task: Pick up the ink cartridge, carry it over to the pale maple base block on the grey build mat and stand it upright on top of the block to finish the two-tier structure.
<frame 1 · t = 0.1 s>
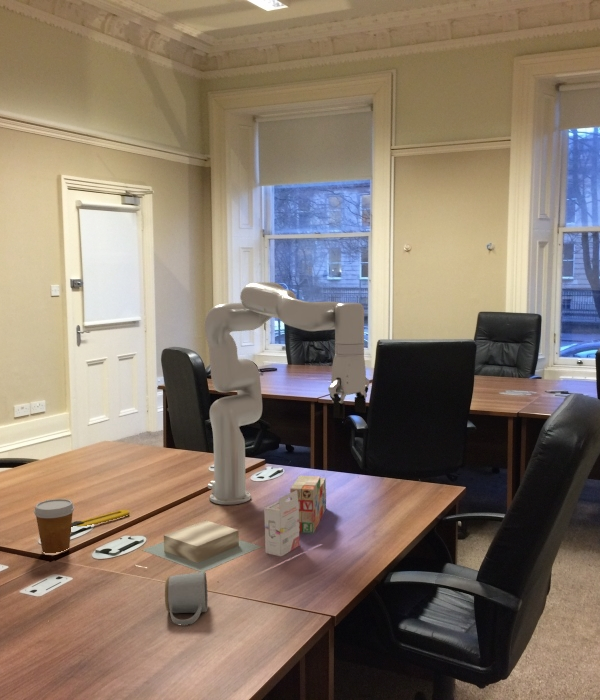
hand: (349, 415, 186), 31 cm above the table, tool pointing down, fingers open, 9 cm apart
stack of blocks: (309, 520, 197), on the table
base block: (201, 548, 176), resting on build mat
ceramic mug: (188, 614, 142), on the table
disposable coffee cup: (56, 551, 176), on the table
build mat: (201, 549, 176), on the table
ink cartridge box: (282, 551, 175), on the table
utility knife: (92, 524, 197), on the table
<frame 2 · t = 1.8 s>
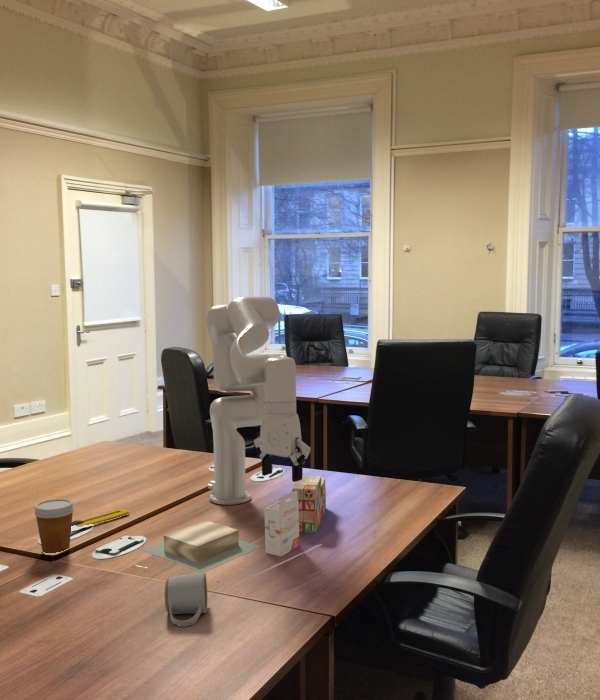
hand: (282, 477, 173), 19 cm above the table, tool pointing down, fingers open, 9 cm apart
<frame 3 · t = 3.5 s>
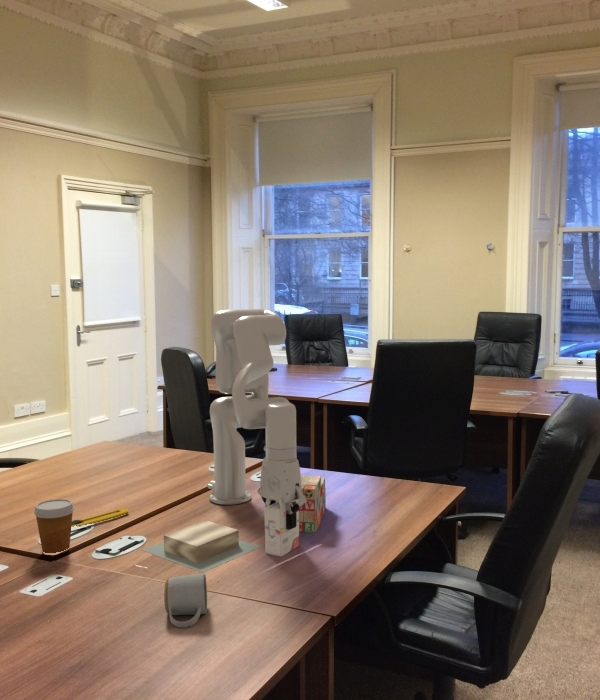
hand: (281, 524, 174), 7 cm above the table, tool pointing down, fingers closed on ink cartridge box, 5 cm apart
ink cartridge box: (282, 551, 175), on the table, touching gripper
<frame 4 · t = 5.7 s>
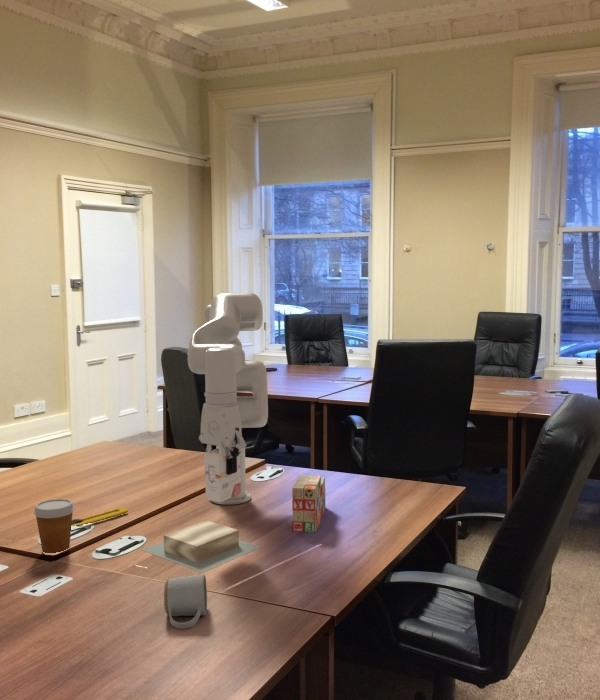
hand: (222, 470, 174), 20 cm above the table, tool pointing down, fingers closed on ink cartridge box, 5 cm apart
ink cartridge box: (223, 497, 174), point 13 cm above the table, touching gripper
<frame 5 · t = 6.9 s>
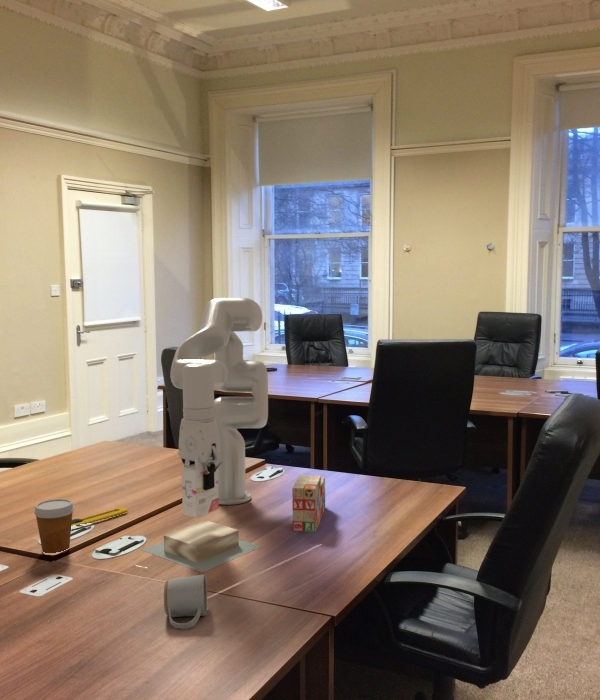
hand: (200, 486, 174), 16 cm above the table, tool pointing down, fingers closed on ink cartridge box, 5 cm apart
ink cartridge box: (200, 512, 175), point 10 cm above the table, touching gripper
when the fingers open (12 cm above the table, at t = 8.0 s): ink cartridge box drops 1 cm, resting on base block.
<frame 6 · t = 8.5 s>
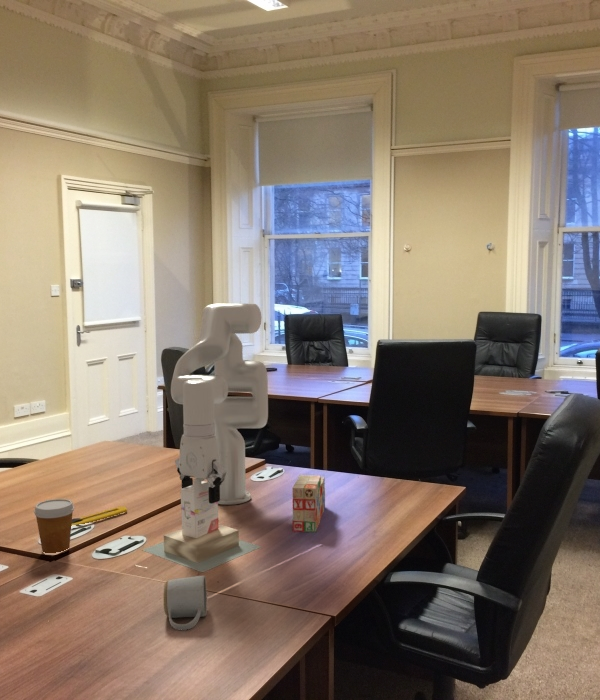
hand: (200, 498, 174), 13 cm above the table, tool pointing down, fingers open, 9 cm apart
base block: (201, 548, 176), resting on build mat, touching ink cartridge box
ink cartridge box: (200, 532, 176), point 4 cm above the table, touching base block
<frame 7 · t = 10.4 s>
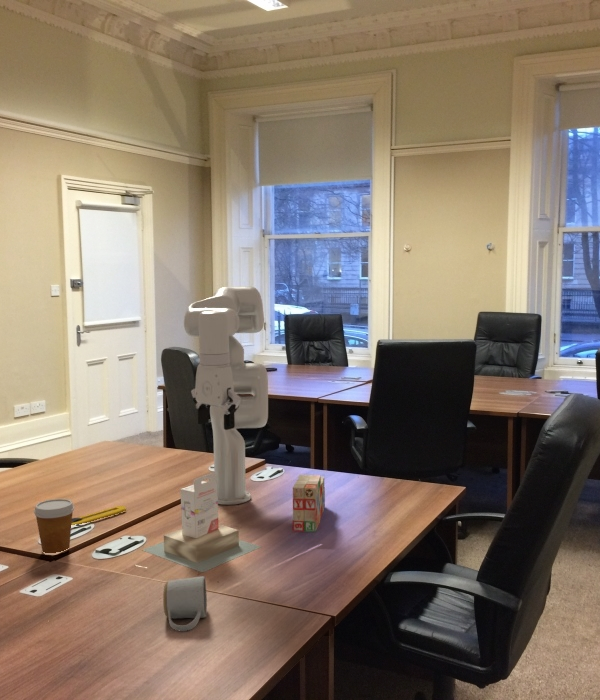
hand: (216, 426, 181), 30 cm above the table, tool pointing down, fingers open, 9 cm apart
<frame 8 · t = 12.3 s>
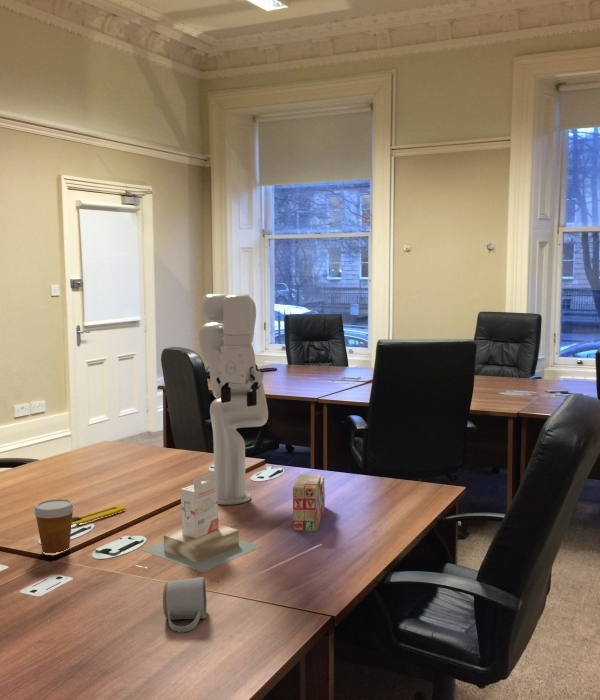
hand: (238, 403, 192), 33 cm above the table, tool pointing down, fingers open, 9 cm apart
at the end: ink cartridge box touching base block; ink cartridge box tilted 0° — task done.
